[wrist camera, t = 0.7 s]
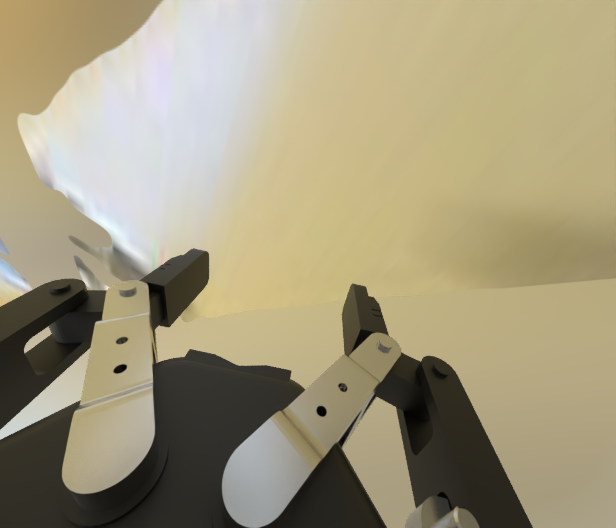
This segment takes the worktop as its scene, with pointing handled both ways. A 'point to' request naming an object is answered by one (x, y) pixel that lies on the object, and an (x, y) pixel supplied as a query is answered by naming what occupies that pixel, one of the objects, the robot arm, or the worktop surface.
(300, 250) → the worktop surface
